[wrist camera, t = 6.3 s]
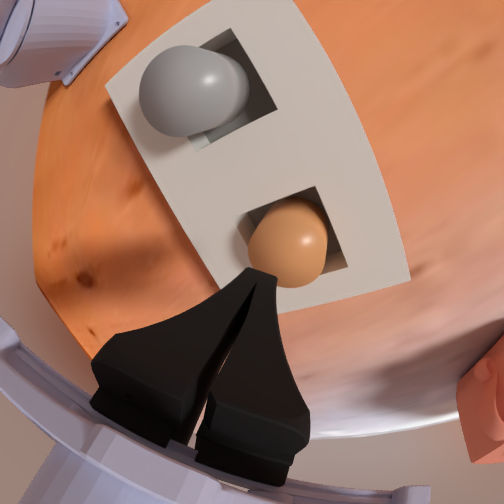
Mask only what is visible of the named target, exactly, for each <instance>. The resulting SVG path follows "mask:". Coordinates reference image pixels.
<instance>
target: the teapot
mask: <svg viewBox="0 0 504 504" xmlns="http://www.w3.org/2000/svg"><path fill="white" fill-rule="evenodd" d="M456 400H457V407H458V412H459V417H460V422H461V426H462V430H463V434H464V438H465V442H466V446H467V449H468V453H469V457H470V460H471V462H472V463H474V464H490V463H501V462H504V335H503V336H502V337H501V338H500V339H499V340H498V341H497V342H496V343H495V344H494V346H493V347H492V348H491V349H490V350H489V351H488V352H487V353H486V354H485V355H484V356H483V357H482V358H481V359H480V360H479V361H478V362H477V363H476V364H475V365H474V366H473V367H472V368H471V369H470V370H469V371H468V372H467V373H466V374H465V375H464V376H463V377H462V378H461V379H460V380H459V381H458V383H457V393H456Z"/></svg>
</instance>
